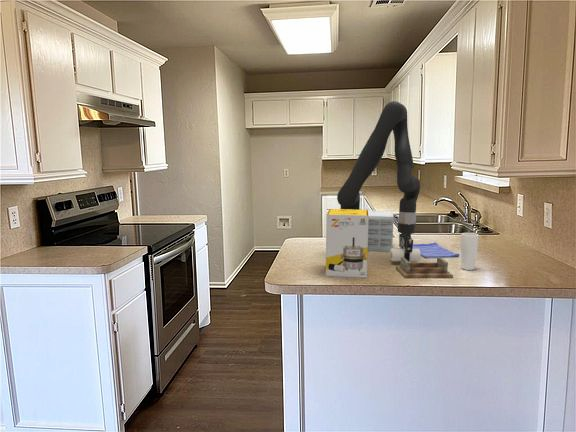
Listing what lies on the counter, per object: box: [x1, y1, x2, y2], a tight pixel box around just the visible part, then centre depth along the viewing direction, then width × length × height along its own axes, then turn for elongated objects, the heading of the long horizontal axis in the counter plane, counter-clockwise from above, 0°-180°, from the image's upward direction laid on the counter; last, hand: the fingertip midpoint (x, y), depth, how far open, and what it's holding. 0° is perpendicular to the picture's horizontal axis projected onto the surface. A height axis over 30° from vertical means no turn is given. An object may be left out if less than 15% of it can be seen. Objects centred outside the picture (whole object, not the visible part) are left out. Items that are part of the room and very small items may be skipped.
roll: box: [389, 248, 421, 262], centre depth 186 cm, size 13×6×6 cm, turn 90°
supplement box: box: [368, 210, 395, 253], centre depth 215 cm, size 17×13×18 cm
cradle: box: [395, 257, 454, 279], centre depth 171 cm, size 19×14×6 cm
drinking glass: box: [460, 232, 480, 271], centre depth 176 cm, size 7×7×15 cm
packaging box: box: [325, 208, 369, 279], centre depth 172 cm, size 16×16×25 cm
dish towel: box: [408, 242, 461, 260], centre depth 207 cm, size 17×24×3 cm
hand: (404, 259), depth 186 cm, fingers closed on roll, 5 cm apart
